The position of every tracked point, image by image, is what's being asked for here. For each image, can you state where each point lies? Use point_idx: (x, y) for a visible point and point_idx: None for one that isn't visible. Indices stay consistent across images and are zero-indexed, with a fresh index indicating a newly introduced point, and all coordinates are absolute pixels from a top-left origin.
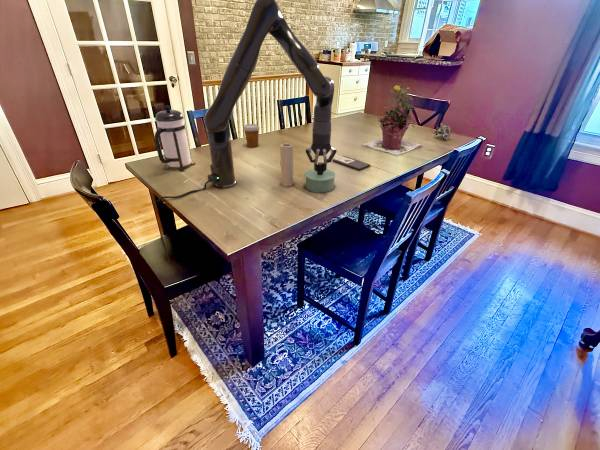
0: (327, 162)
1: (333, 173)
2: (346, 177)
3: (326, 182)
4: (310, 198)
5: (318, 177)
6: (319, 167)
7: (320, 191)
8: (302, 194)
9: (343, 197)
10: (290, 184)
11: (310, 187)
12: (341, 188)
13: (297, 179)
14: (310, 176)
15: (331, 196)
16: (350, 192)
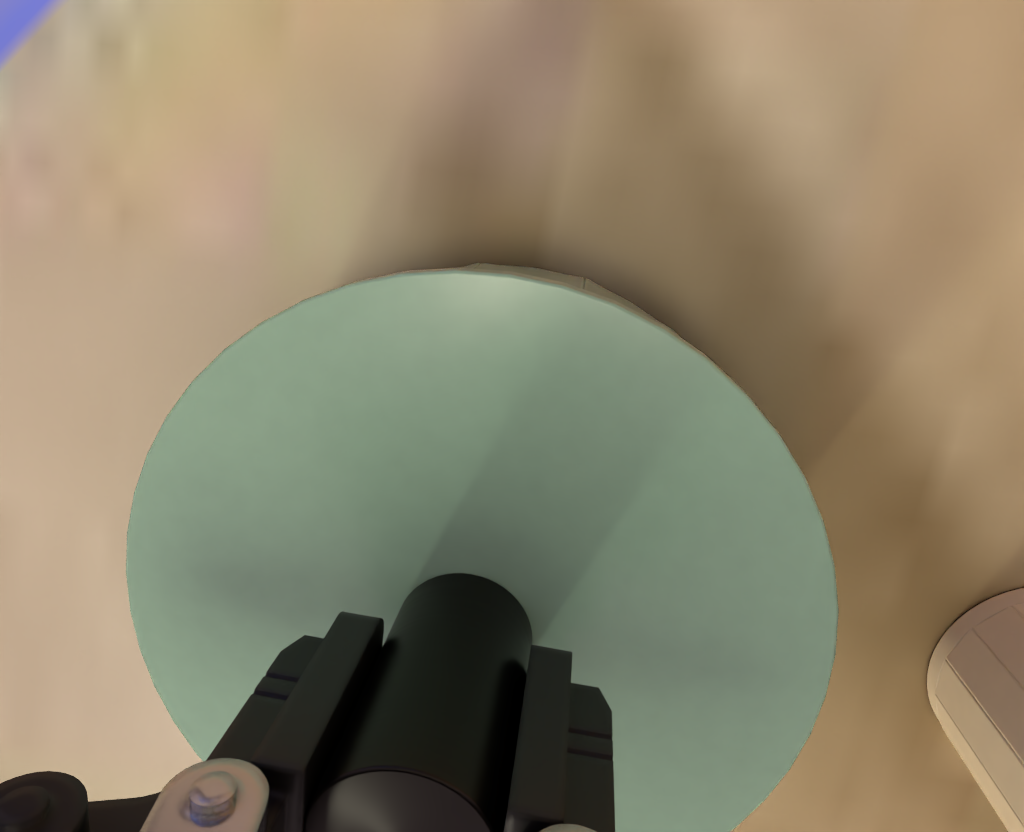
0: (146, 811)
1: (166, 602)
2: (57, 722)
3: None
4: (773, 28)
5: (539, 443)
6: (462, 705)
7: (529, 269)
8: (882, 227)
9: (155, 8)
10: (1020, 606)
11: None
12: (158, 374)
13: (809, 794)
14: (724, 530)
15: (361, 76)
16: (25, 203)
